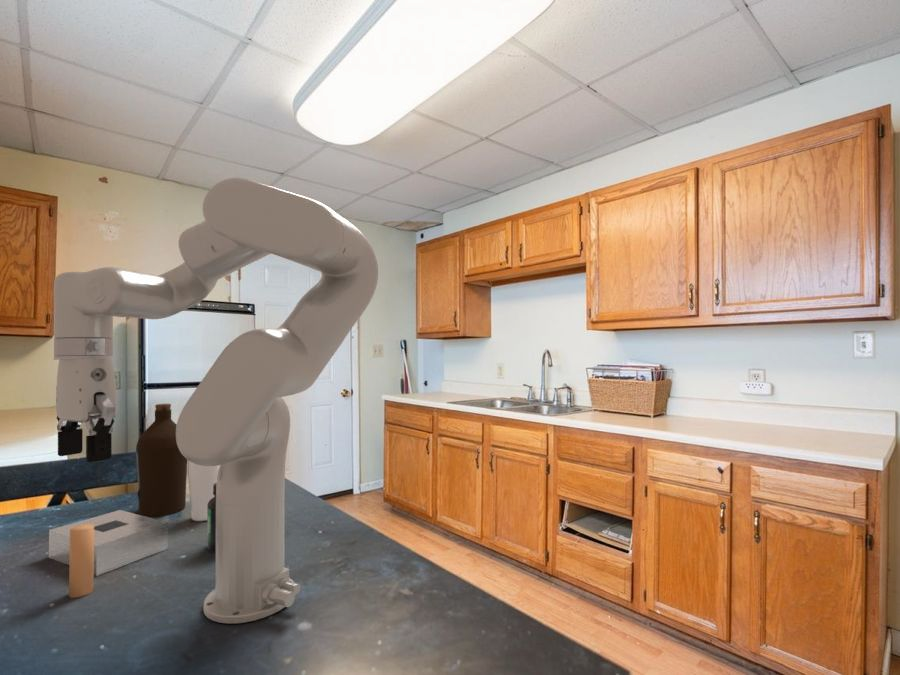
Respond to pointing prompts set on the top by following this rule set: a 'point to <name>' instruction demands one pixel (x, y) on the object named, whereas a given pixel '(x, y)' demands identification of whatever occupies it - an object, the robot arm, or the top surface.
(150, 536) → the hole block
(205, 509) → the drinking glass
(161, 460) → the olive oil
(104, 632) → the top surface
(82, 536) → the peg
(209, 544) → the supplement bottle
